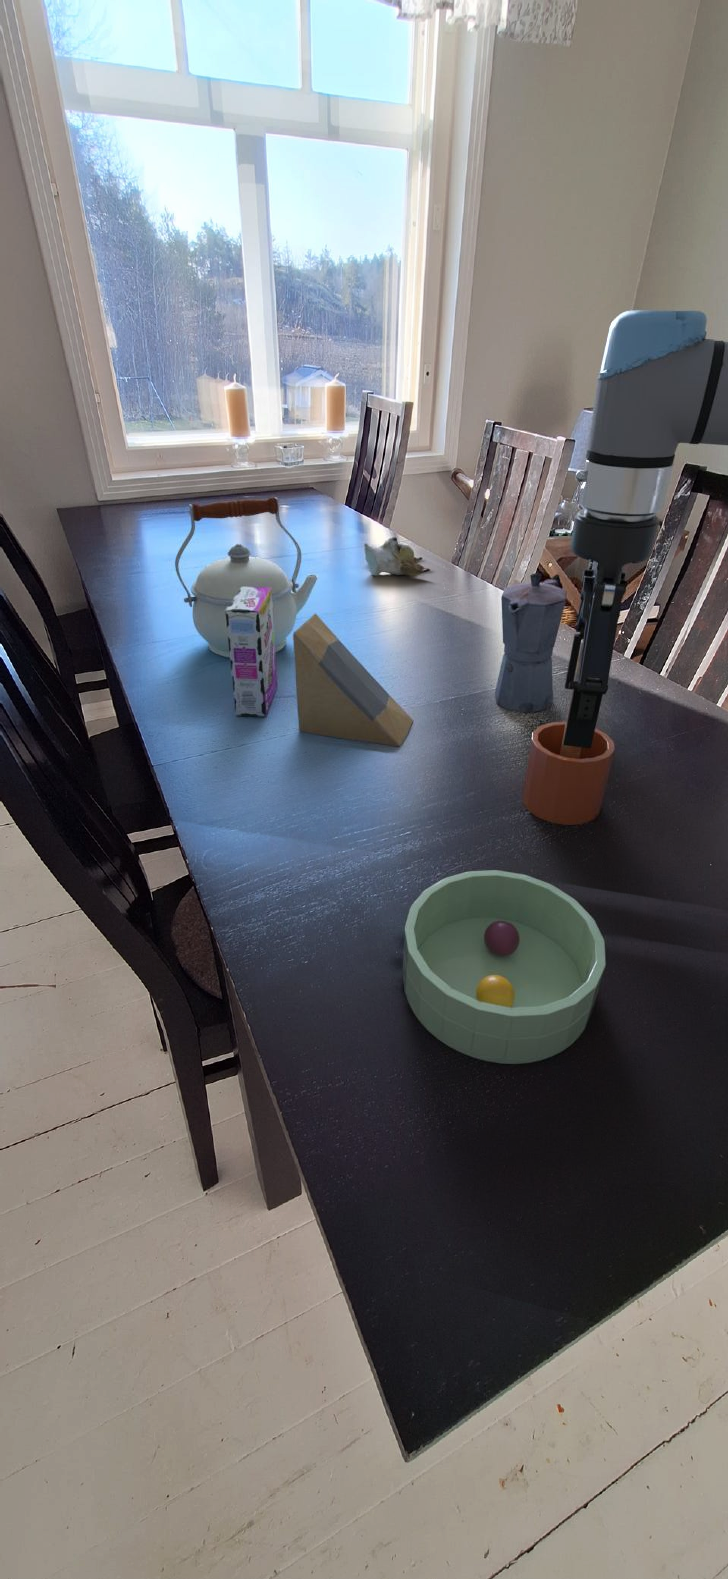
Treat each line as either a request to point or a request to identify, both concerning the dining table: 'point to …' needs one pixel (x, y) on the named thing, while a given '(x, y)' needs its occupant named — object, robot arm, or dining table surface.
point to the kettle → (242, 578)
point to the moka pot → (529, 643)
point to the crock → (566, 777)
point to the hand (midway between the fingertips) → (576, 715)
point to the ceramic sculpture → (393, 558)
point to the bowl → (502, 966)
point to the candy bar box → (252, 650)
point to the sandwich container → (341, 691)
